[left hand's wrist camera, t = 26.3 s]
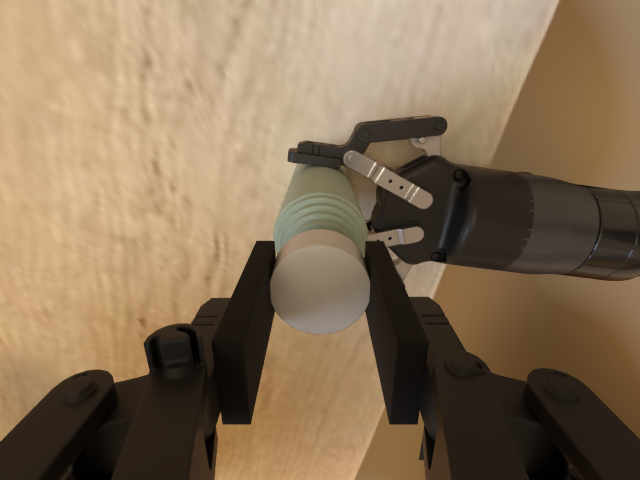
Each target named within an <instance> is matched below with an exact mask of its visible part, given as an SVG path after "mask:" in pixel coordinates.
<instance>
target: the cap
mask: <svg viewBox="0 0 640 480" xmlns="http://www.w3.org/2000/svg"><path fill="white" fill-rule="evenodd" d="M270 293H271V303H272V305H273V308H274V309H275V311H276V313H277V314H278V315H279V316H280V318H281V319H282V320H283V321H284V322H286V323H287V324H288V325H290V326H291V327H293V328H295V329H297V330H300V331H302V332H306V333H311V334H329V333H334V332H338V331H340V330H343V329H345V328H347V327H349V326H350V325H352V324H353V323H355V322H356V321H357V320H358V319H359V318H360V317H361V315H362V314H363V313H364V311H365V310H366V308H367V306H368V303H369V296H370V279H369V275H368V272H367V268H366V264H365V261H364V258H363V255H362V253H361V251H360V250H359V248H358V247H357V245H356V244H355V243H354V242H353V241H352V240H350V239H349V238H348V237H346V236H345V235H343V234H340V233H338V232H335V231H332V230H326V229H314V230H308V231H305V232H302V233H300V234H297V235H296V236H294V237H292V238H291V239H290V240H289V241H287V242H286V243H285V244H284V246H283V247H282V248H281V250H280V251H279V253H278V255H277V258H276V261H275V265H274V268H273V272H272V276H271V279H270Z"/></svg>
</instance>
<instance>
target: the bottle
mask: <svg viewBox="0 0 640 480" xmlns="http://www.w3.org/2000/svg"><path fill="white" fill-rule="evenodd" d="M314 229H326V230H332V231H335V232H338V233H340V234H343V235H345V236H346V237H348V238H349V239H350V240H352V241H353V242H354V243H355V244H356V245H357V247H358V248H359V250H360V251H361V253H362V255H364V253H365V241H368V231H367V226H366V223H365V220H364V217H363V214H362V212H361V209H360V206H359V204H358V201H357V198H356V195H355V193H354V190H353V187H352V184H351V182H350V179H349V176H348V174H347V171H346V168H345V166H340V169H336V168H329V167H321V166H314V165H307V164H299V163H298V164H297V166H296V168H295V171H294V174H293V177H292V179H291V182H290V185H289V188H288V190H287V193H286V196H285V199H284V201H283V204H282V207H281V210H280V212H279V215H278V218H277V221H276V223H275V227H274V235H273V236H274V241H275V249H276V252H277V255H278V253H279V251H280V250H281V248H282V247H283V246H284V244H285V243H286V242H287V241H289V240H290V239H291V238H292V237H294V236H296V235H297V234H300V233H302V232H305V231H308V230H314Z"/></svg>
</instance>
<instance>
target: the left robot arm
mask: <svg viewBox="0 0 640 480" xmlns="http://www.w3.org/2000/svg"><path fill="white" fill-rule="evenodd" d="M275 261H276V255H275V241H256V243H255V246H254V248H253V250H252V252H251V255H250V257H249V259H248V261H247V264H246V266H245V268H244V270H243V272H242V275H241V277H240V279H239V281H238V284H237V286H236V288H235V290H234V292H233V295H232V297H231V298H211V299H210V300H209V301H207V302H206V303H205V304H203V305H202V306H201V307H200V309H199V311H198V312H197V314H196V317H195V318H194V319H193V321H192V323H191V324H174V325H169V326H166V327H164V328H161V329H159V330H157V331H155V332H154V333H153V334H151V335H150V336H148V338H147V339H146V341H145V342H144V348H145V352H146V356H147V361H148V365H149V369H150V372H149V374H148V375H145V376H142V377H138V378H134V379H130V380H125V381H121V382H117V383H114V380H113V376H112V375H111V374H110V373H109V372H108V371H104V370H88V371H85V372H81V373H78V374H75V375H73V376H71V377H69V378H67V379H65V380H63V381H62V382H61V383H59V384H58V385H57V386H56V387H54V388H53V389H52V390H51V391H50V392H49V393H48V394H47V395H46V396H45V397H44V398H43V399H42V400H41V401H40V402H39V403H38V404H37V405H36V406H35V407H34V408H33V409H32V410H31V411H30V412H29V413H28V414H27V415H26V416H25V417H24V418H23V419H22V420H21V421H20V422H19V423H18V424H17V425H16V426H15V427H14V428H13V429H12V430H11V431H10V432H9V434H8V435H7V436H6V437H5V438H4V439H3V440H2V441H1V442H0V480H214V477H215V466H216V454H217V442H218V438H217V431H216V424H217V421H218V418H219V415H220V411H221V415H222V422H223V424H251V420H252V416H253V411H254V406H255V402H256V397H257V392H258V388H259V383H260V378H261V374H262V369H263V364H264V359H265V355H266V350H267V345H268V341H269V336H270V331H271V327H272V322H273V317H274V313H275V309H274V308H273V305H272V303H271V293H270V279H271V276H272V272H273V268H274V265H275ZM364 261H365V264H366V268H367V272H368V275H369V279H370V296H369V303H368V306H367V308H366V310H365V312H366V316H367V321H368V326H369V330H370V335H371V340H372V344H373V349H374V354H375V358H376V363H377V368H378V373H379V377H380V382H381V387H382V391H383V396H384V401H385V405H386V410H387V415H388V419H389V424H418V417H419V410H420V412H421V415H422V418H423V421H424V431H423V438H422V444H421V451H420V457H419V460H424V465H425V476H426V480H640V439H639V438H638V437H637V436H636V435H635V434H634V433H633V432H632V431H631V430H630V429H629V428H628V427H627V426H626V425H625V424H624V423H623V422H622V421H621V420H620V419H619V418H618V417H617V416H616V415H615V414H614V413H613V412H612V411H611V410H610V409H609V408H608V407H607V406H606V405H605V404H604V403H603V402H602V401H601V400H600V399H599V398H598V397H597V396H596V395H595V394H594V393H593V392H592V391H591V390H590V389H589V388H588V387H587V386H586V385H584V384H583V383H582V382H581V381H579V380H578V379H576V378H574V377H572V376H570V375H569V374H567V373H564V372H561V371H557V370H554V369H546V368H540V369H535V370H533V371H532V372H530V373H529V374H528V377H527V381H526V382H525V381H521V380H516V379H512V378H508V377H503V376H500V375H497V374H493V373H491V371H490V370H489V368H488V366H487V365H486V363H485V362H483V361H482V360H481V359H480V358H478V357H477V356H475V355H473V354H471V353H469V352H466V350H465V349H464V347H463V345H462V344H461V342H460V340H459V338H458V337H457V335H456V333H455V331H454V330H453V328H452V326H451V325H450V324H449V321H448V319H447V318H446V317H445V314H444V312H443V311H442V309H441V307H440V306H439V305H438V304H437V303H436V302H434V301H433V300H432V299H431V298H429V297H409V296H408V294H407V292H406V290H405V287H404V285H403V283H402V281H401V279H400V276H399V274H398V272H397V270H396V267H395V265H394V263H393V261H392V259H391V256H390V254H389V252H388V250H387V247H386V245H385V243H384V241H365V260H364Z"/></svg>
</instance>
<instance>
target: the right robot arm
mask: <svg viewBox="0 0 640 480" xmlns="http://www.w3.org/2000/svg"><path fill="white" fill-rule="evenodd" d="M446 129H447V122H446V120H445V119H444V118H443V117H438V116H431V115H426V116H417V117H407V118H397V119H388V120H378V121H368V122H360V123H358V124H357V125H356V126H355V128H354V131H353V133H352V135H351V137H350V139H349V140H348V142H347V143H345V144H343V145H334V144H326V143H319V142H312V141H303V142H299V143H298V148H297V149H296V148H290V149H289V151H288V161H289V162H292V163H299V164H307V165H314V166H321V167H329V168H336V169H340V166H347V167H348V168H350V169H352V170H354V171H356V172H357V173H359V174H361V175H363V176H365V177H366V178H368V179H370V180H371V181H372V182H374V183H376V184H377V190H376V197H377V202H376V204H375V207H374V209H373V211H372V215H371V219H367V220H365V223H366V226H367V231H368V241H384V243H385V245H386V247H388V248H390V249H391V250H392V251H393V252H394V253H395V254H396V255H397V256H398V258H397V259H396V260H392V261H393V263H394V265H395V267H396V270H397V272H398V274H399V276H400V279H401V281H402V283H403V281H404V279H405V277H406V275H407V273H408V271H409V269H410V268H411V266H412V265H415V264H419V263H422V262H426V261H435V262H439V263H444V264H451V265H459V266H467V267H476V268H483V269H491V270H500V271H508V272H516V273H524V274H559V275H567V276H575V277H583V278H591V279H599V280H607V281H622V280H629V279H632V278H635V277H637V276H640V191H623V190H614V189H607V188H599V187H592V186H585V185H577V184H572V183H568V182H565V181H561V180H558V179H554V178H550V177H544V176H538V175H533V174H530V173H528V172H517V173H516V172H509V171H502V170H495V169H488V168H481V167H473V166H466V165H459V164H453V163H450V162H448V161H447V160H446V159H445V158H444V157H442V156H440V153H441V135H442V134H443V133H444V132H445V131H446ZM401 139H408V142H409V143H410V145H412V146H414V147H416V148H421V149H422V150H423V152H424V155H423V156H421V157H419V158H417V159H415V160H413V161H411V162H409V163H407V164H405V165H403V166H401V167H399V168H397V169H395V170H394V169H392V168H391V167H389V166H387V165H385V164H384V163H382V162H380V161H378V160H376V159H374V158H372V157H370V156H368V155H367V154H365V153H364V152H365V150H366V149H367V147H368V145H369V143H372V142H381V141H391V140H401ZM363 258H364V260H365V257H363ZM403 285H404V283H403ZM404 287H405V285H404Z"/></svg>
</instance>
